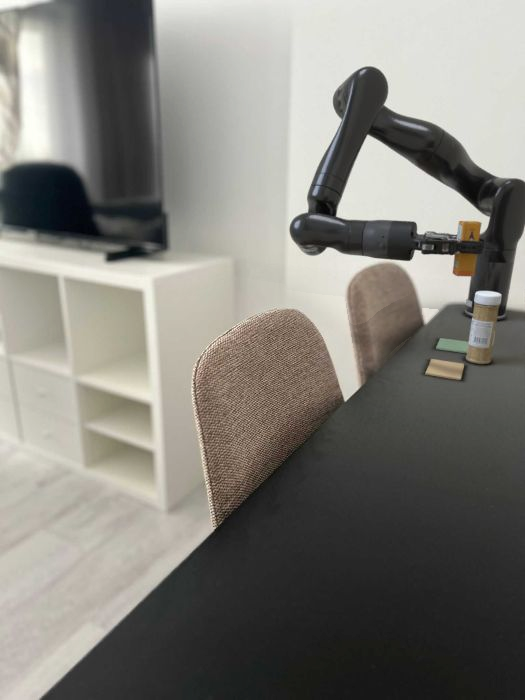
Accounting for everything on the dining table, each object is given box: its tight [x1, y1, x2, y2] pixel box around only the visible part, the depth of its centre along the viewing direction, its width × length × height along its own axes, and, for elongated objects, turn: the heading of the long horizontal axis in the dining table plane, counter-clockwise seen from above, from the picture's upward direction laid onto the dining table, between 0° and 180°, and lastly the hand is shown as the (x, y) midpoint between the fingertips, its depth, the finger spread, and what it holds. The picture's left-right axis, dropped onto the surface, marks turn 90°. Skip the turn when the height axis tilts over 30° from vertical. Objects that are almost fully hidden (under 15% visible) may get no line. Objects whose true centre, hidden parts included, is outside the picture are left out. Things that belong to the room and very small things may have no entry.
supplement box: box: [452, 220, 482, 278], centre depth 95 cm, size 3×3×10 cm
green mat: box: [435, 337, 469, 354], centre depth 107 cm, size 7×6×1 cm
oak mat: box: [424, 358, 465, 381], centre depth 94 cm, size 8×6×1 cm
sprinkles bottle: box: [465, 291, 502, 365], centre depth 97 cm, size 5×5×13 cm
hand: (483, 246), depth 94 cm, fingers closed on supplement box, 3 cm apart
